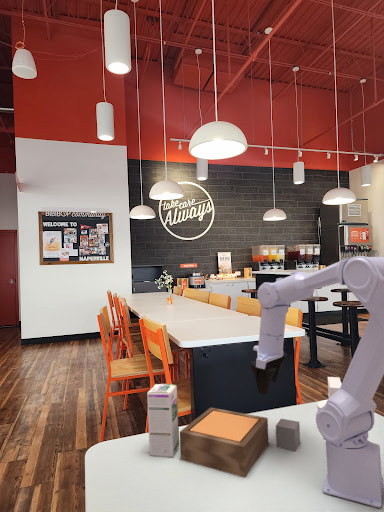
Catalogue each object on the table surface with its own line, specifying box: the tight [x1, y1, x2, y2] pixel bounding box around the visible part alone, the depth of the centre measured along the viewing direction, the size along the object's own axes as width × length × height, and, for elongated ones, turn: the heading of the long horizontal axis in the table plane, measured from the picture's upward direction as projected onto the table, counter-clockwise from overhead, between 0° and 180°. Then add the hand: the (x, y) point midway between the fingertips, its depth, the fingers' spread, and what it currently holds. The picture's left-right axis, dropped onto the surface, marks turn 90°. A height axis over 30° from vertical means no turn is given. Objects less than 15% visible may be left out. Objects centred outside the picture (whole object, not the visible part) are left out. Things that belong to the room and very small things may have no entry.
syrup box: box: [146, 383, 180, 458], centre depth 82 cm, size 6×6×14 cm
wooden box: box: [179, 407, 270, 478], centre depth 80 cm, size 15×15×6 cm
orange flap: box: [190, 411, 259, 443], centre depth 80 cm, size 12×12×1 cm
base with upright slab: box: [316, 376, 342, 411], centre depth 89 cm, size 9×9×12 cm
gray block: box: [275, 418, 301, 452], centre depth 82 cm, size 4×4×5 cm
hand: (267, 386), depth 84 cm, fingers open, 7 cm apart
